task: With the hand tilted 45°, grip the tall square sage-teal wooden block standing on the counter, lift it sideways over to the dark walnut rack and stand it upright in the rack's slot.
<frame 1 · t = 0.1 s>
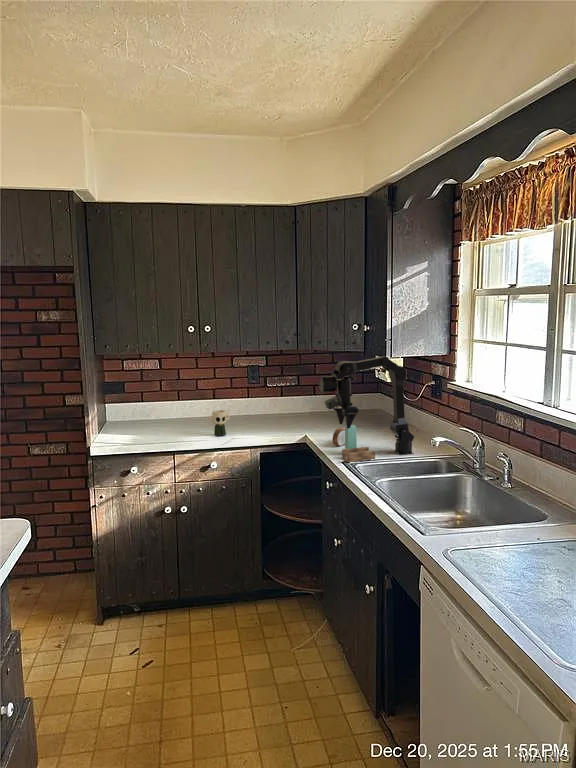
hand: (344, 426, 249), 15 cm above the worktop, tool pointing down, fingers open, 9 cm apart
block: (350, 454, 258), on the worktop
rack: (358, 459, 250), on the worktop
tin: (343, 444, 276), on the worktop
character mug: (220, 435, 302), on the worktop
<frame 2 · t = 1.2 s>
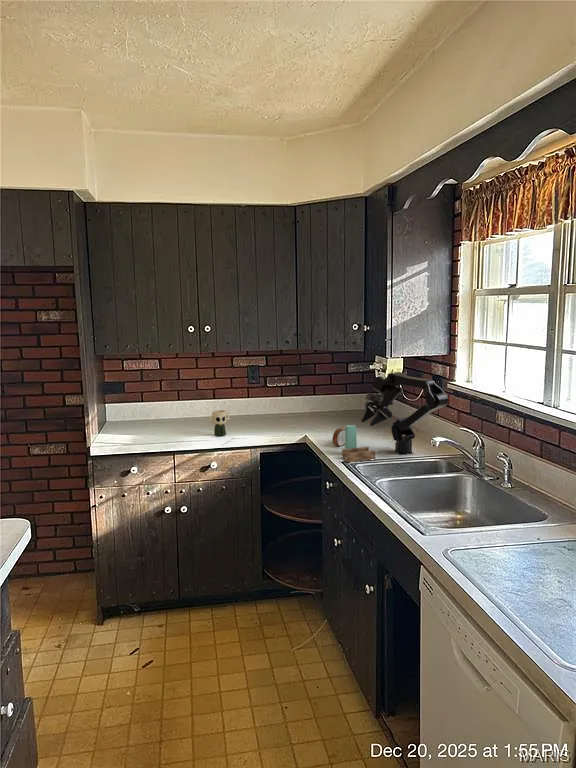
hand: (366, 423, 258), 13 cm above the worktop, tool tilted 45°, fingers open, 9 cm apart
nothing on the worktop moved.
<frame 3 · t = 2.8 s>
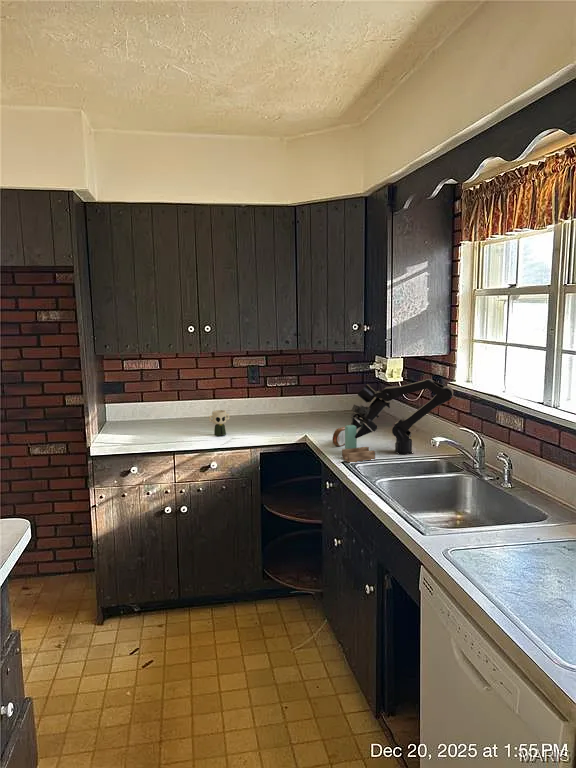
hand: (351, 435, 258), 8 cm above the worktop, tool tilted 45°, fingers open, 9 cm apart
nothing on the worktop moved.
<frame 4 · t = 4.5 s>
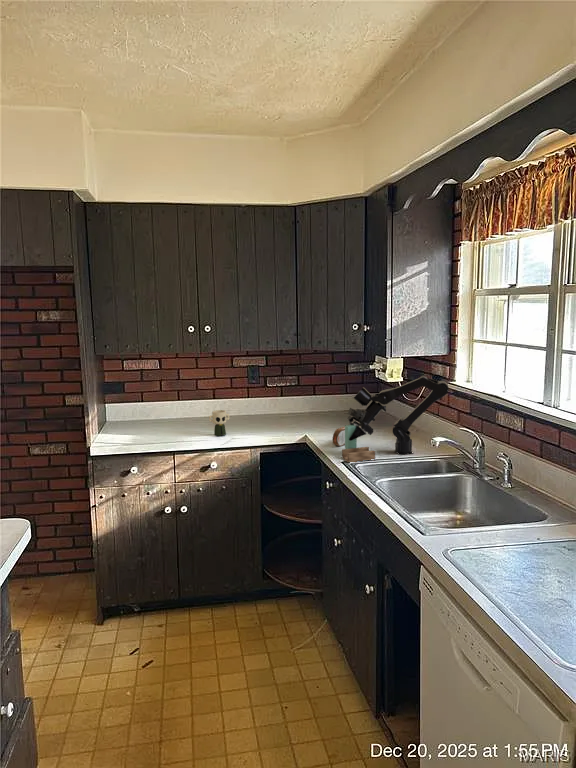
hand: (347, 439, 257), 7 cm above the worktop, tool tilted 45°, fingers closed on block, 4 cm apart
block: (350, 454, 258), on the worktop, touching gripper
everything else where it was.
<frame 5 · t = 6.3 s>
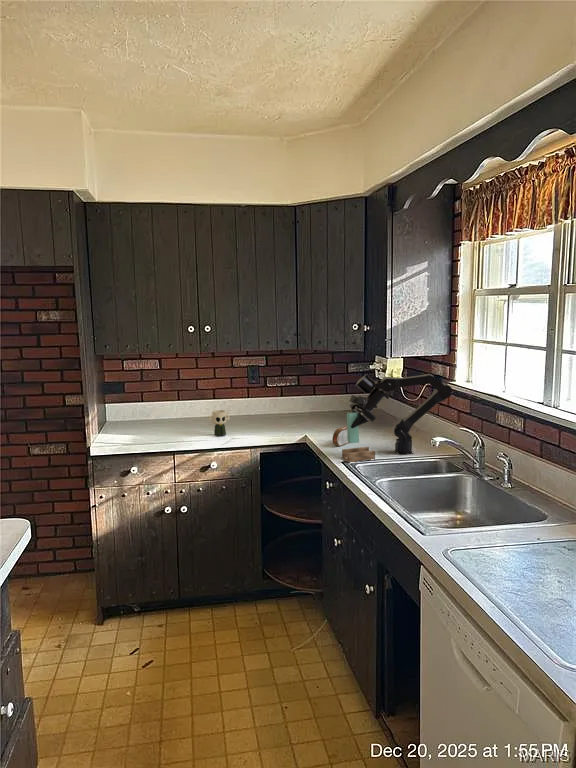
hand: (349, 426, 254), 13 cm above the worktop, tool tilted 45°, fingers closed on block, 4 cm apart
block: (353, 441, 255), point 6 cm above the worktop, touching gripper
everything else where it was.
when the fingers open (9 cm above the worktop, at t = 8.3 s): block stays where it is, resting on rack.
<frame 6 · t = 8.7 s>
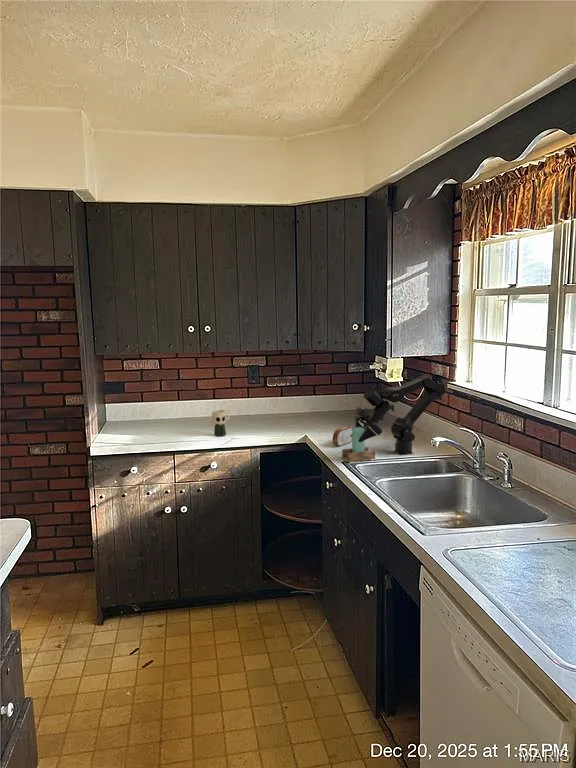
hand: (355, 439, 248), 9 cm above the worktop, tool tilted 45°, fingers open, 8 cm apart
block: (358, 457, 250), point 1 cm above the worktop, touching rack
everything else where it was.
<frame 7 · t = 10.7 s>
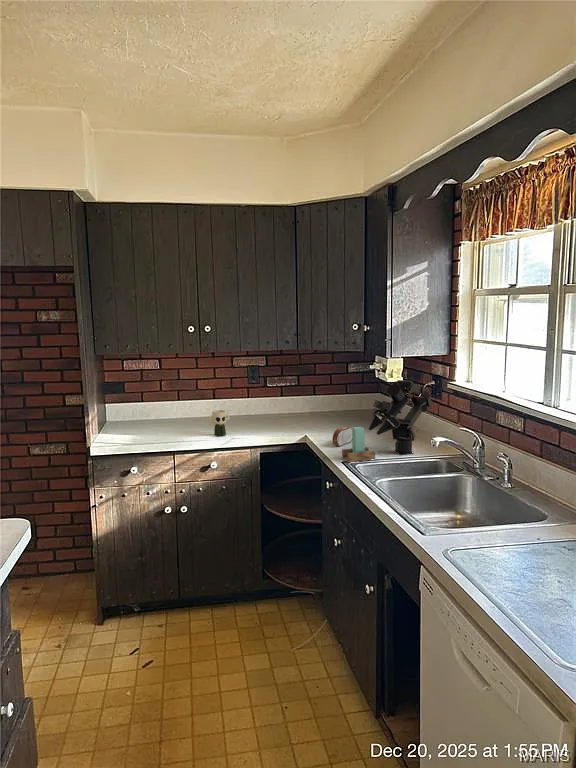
hand: (373, 431, 250), 12 cm above the worktop, tool tilted 45°, fingers open, 9 cm apart
nothing on the worktop moved.
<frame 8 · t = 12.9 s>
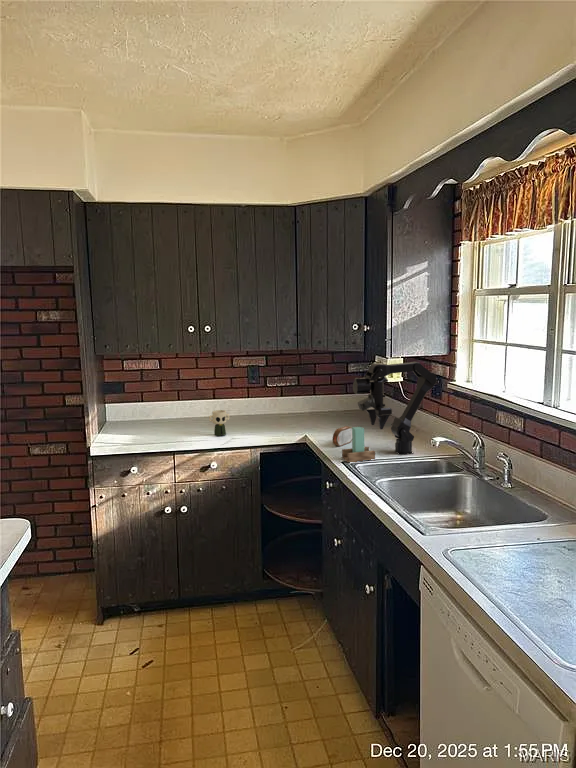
hand: (377, 427, 253), 13 cm above the worktop, tool pointing down, fingers open, 9 cm apart
nothing on the worktop moved.
at the end: block inside the target area on the rack (0.0 cm from its centre), point 1.0 cm above the rack's base; block tilted 0°; the gripper is holding nothing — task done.
